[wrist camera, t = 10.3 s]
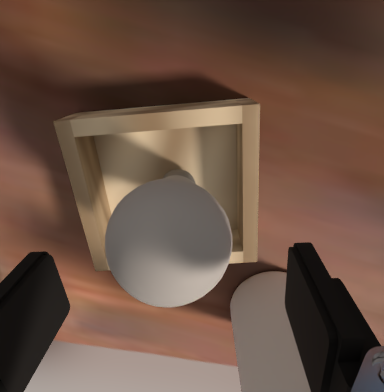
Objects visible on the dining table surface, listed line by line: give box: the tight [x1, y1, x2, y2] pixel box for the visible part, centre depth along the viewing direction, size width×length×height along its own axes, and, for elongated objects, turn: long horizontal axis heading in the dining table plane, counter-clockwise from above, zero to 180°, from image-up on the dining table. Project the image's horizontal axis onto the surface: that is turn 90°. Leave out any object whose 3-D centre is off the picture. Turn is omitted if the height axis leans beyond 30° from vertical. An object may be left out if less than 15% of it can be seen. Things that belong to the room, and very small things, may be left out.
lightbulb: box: [105, 169, 232, 307], centre depth 16 cm, size 6×6×11 cm
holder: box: [53, 98, 260, 271], centre depth 20 cm, size 12×11×4 cm
